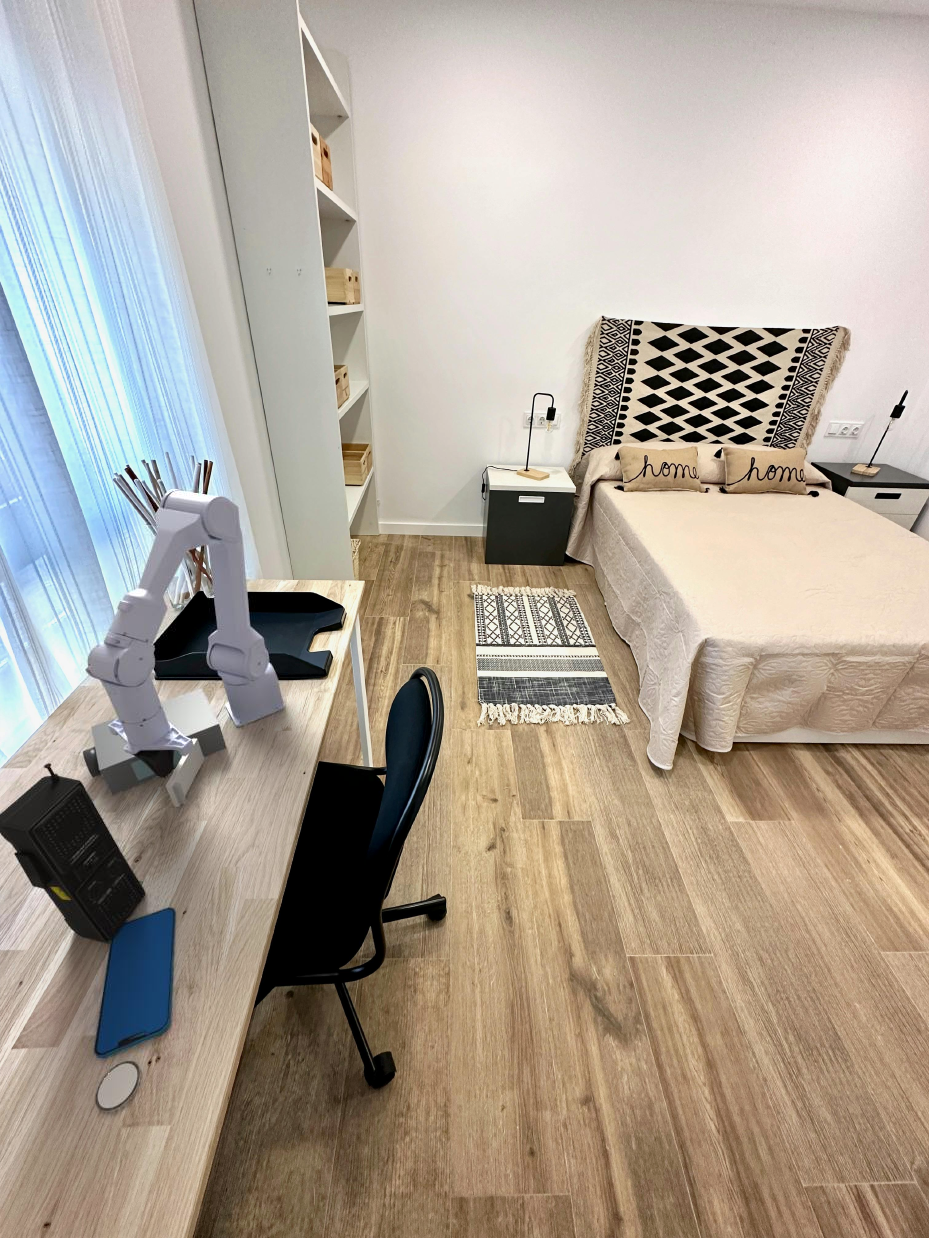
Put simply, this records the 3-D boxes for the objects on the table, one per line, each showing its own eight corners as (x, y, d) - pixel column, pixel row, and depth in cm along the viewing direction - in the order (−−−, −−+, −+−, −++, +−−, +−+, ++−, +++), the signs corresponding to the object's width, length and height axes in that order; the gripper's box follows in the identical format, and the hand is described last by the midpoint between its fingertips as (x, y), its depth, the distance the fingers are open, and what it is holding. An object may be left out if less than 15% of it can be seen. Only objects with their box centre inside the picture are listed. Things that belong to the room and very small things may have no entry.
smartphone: (175, 904, 68) (169, 1027, 57) (177, 908, 69) (171, 1031, 57) (112, 926, 66) (91, 1060, 54) (114, 930, 66) (94, 1064, 55)
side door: (199, 759, 90) (192, 738, 87) (209, 759, 90) (202, 738, 87) (174, 806, 81) (165, 785, 79) (184, 806, 81) (176, 785, 79)
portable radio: (105, 954, 63) (17, 827, 50) (64, 943, 64) (-33, 815, 51) (150, 893, 70) (83, 767, 57) (112, 884, 71) (37, 757, 58)
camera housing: (209, 711, 101) (201, 688, 98) (226, 748, 93) (219, 724, 90) (91, 755, 91) (78, 731, 87) (99, 801, 82) (86, 776, 79)
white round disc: (135, 1053, 55) (133, 1050, 55) (146, 1088, 53) (144, 1086, 53) (93, 1085, 53) (90, 1083, 53) (102, 1124, 51) (100, 1122, 50)
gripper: (79, 717, 75) (110, 779, 83) (157, 740, 72) (183, 803, 79) (120, 688, 81) (146, 749, 88) (194, 708, 78) (215, 770, 85)
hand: (166, 772), depth 84 cm, fingers closed
